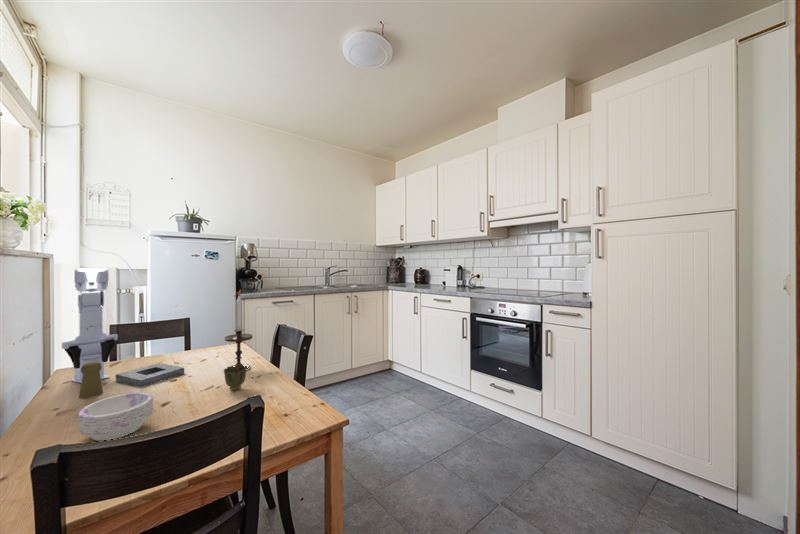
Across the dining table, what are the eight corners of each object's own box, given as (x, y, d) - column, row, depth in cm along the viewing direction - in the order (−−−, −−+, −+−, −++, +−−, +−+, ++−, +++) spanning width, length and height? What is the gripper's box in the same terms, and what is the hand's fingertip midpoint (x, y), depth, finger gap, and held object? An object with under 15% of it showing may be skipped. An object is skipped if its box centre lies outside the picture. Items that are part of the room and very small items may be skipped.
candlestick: (244, 364, 147) (244, 287, 147) (257, 368, 141) (257, 289, 141) (219, 370, 139) (220, 289, 138) (232, 375, 132) (232, 290, 132)
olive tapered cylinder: (88, 398, 108) (88, 366, 108) (74, 397, 110) (74, 365, 110) (107, 392, 114) (107, 361, 114) (94, 390, 115) (94, 360, 115)
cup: (223, 395, 112) (223, 372, 112) (223, 388, 119) (224, 366, 119) (247, 391, 116) (247, 369, 116) (246, 384, 122) (246, 363, 122)
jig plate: (115, 380, 125) (115, 374, 125) (159, 368, 140) (159, 362, 140) (140, 387, 119) (140, 380, 119) (184, 373, 134) (184, 367, 134)
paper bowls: (61, 444, 81) (61, 413, 81) (122, 416, 96) (122, 390, 96) (111, 450, 78) (111, 418, 78) (166, 421, 93) (166, 394, 93)
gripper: (69, 330, 104) (69, 372, 104) (122, 323, 117) (122, 360, 117) (58, 328, 106) (58, 369, 106) (111, 321, 120) (111, 358, 120)
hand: (91, 364), depth 112 cm, fingers open, 7 cm apart
